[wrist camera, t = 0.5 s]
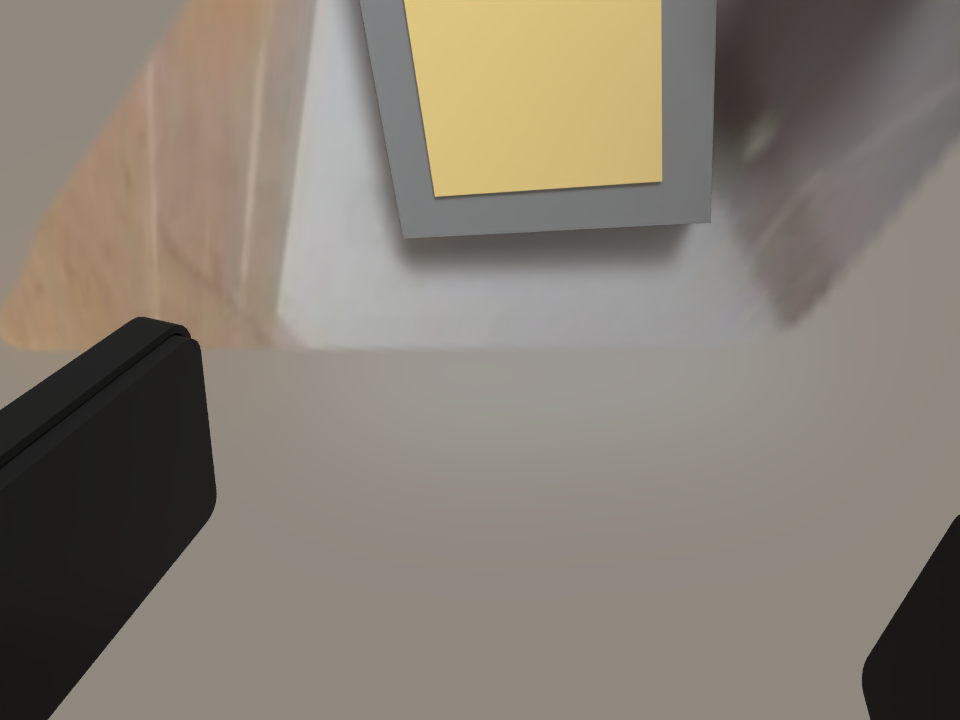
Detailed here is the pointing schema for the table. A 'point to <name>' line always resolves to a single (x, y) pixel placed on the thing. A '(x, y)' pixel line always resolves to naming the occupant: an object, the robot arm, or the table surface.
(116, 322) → the table surface
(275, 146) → the table surface
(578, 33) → the dock
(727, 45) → the table surface
